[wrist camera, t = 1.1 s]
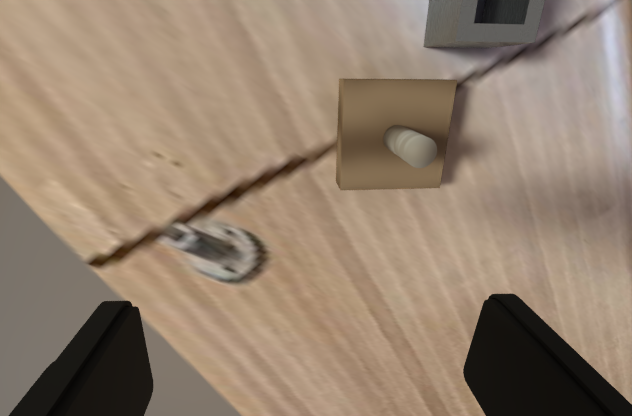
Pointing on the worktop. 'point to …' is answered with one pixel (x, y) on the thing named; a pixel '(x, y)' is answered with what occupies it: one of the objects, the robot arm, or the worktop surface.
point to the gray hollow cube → (497, 23)
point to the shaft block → (392, 132)
